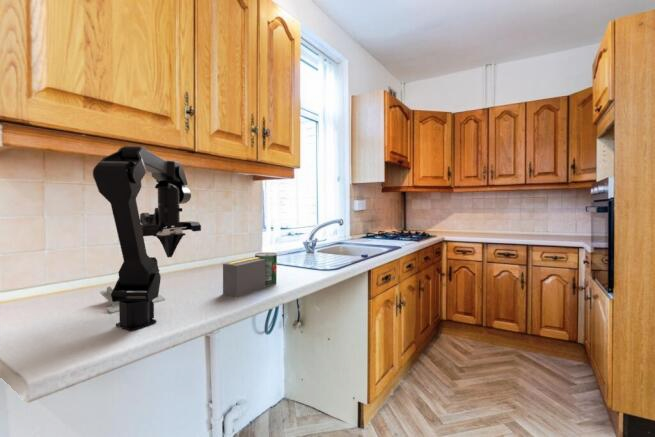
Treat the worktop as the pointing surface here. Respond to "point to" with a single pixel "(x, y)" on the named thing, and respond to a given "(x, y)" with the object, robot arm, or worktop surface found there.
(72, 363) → the worktop surface
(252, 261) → the grey rectangular box
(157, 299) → the metal bracket
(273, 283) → the canned tomato
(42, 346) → the worktop surface
